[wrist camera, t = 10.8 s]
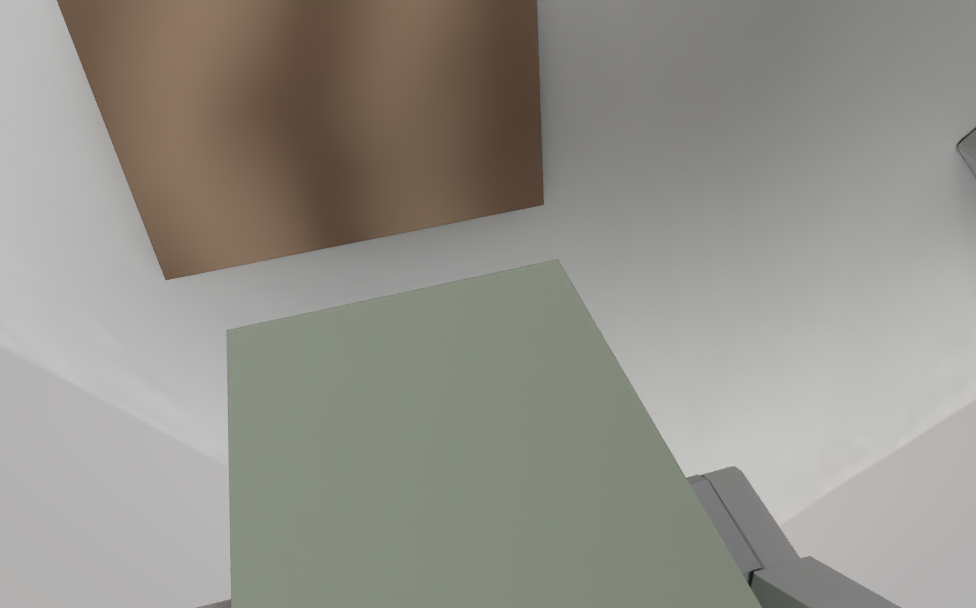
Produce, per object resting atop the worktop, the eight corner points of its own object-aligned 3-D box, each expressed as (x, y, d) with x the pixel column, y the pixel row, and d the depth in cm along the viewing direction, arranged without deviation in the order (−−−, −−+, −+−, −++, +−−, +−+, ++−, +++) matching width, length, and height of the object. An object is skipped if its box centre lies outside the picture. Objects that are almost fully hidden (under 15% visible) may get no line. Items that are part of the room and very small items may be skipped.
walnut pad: (522, -232, 23) (528, -230, 23) (538, 197, 32) (543, 204, 32) (-4, -172, 21) (-9, -168, 21) (166, 270, 30) (165, 279, 30)
